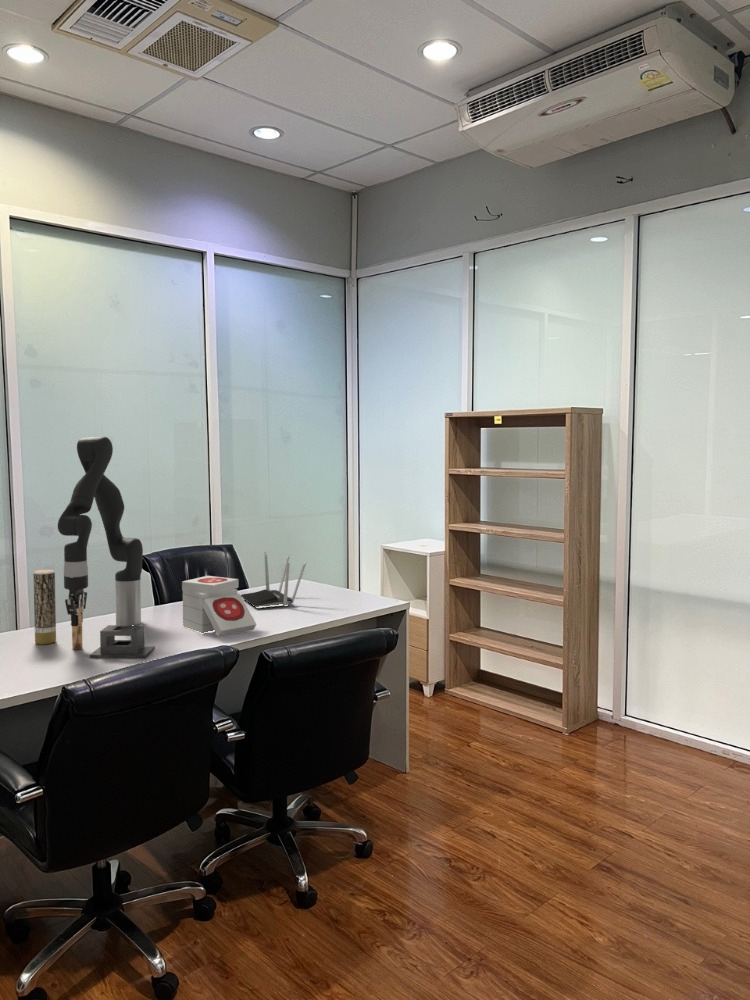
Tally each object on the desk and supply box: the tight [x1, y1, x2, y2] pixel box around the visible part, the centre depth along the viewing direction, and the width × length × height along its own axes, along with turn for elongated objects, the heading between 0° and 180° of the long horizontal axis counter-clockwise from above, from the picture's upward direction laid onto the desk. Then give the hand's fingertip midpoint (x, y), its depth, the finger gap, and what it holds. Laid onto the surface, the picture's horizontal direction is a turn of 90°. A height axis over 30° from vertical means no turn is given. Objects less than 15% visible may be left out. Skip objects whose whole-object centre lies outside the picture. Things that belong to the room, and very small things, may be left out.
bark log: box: [32, 569, 57, 645], centre depth 265 cm, size 7×7×25 cm
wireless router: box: [240, 551, 307, 608], centre depth 335 cm, size 34×23×20 cm
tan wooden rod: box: [71, 606, 84, 650], centre depth 258 cm, size 3×3×14 cm
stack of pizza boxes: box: [181, 575, 257, 637], centre depth 286 cm, size 19×30×18 cm, turn 42°
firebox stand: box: [89, 624, 156, 660], centre depth 253 cm, size 11×18×8 cm, turn 90°
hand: (76, 624), depth 258 cm, fingers closed on tan wooden rod, 3 cm apart
